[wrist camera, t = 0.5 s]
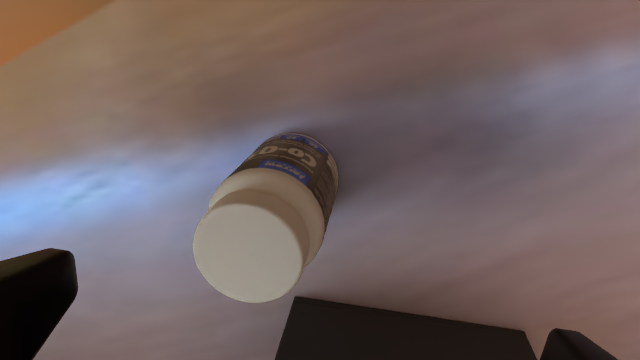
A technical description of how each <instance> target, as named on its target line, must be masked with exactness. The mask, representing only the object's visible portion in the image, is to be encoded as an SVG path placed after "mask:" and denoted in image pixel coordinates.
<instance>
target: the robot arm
mask: <svg viewBox="0 0 640 360" xmlns="http://www.w3.org/2000/svg"><path fill="white" fill-rule="evenodd" d="M77 291H78V282H77V274H76V266H75V259H74V256H73V254H72V253H71V252H70V251H66V250H60V249H54V248H48V249H44V250H40V251H37V252H33V253H29V254H26V255H22V256H18V257H14V258H11V259H7V260H3V261H0V360H33V358H34V357H35V355H36V354H37V353H38V351H39V350H40V348H41V347H42V345H43V344H44V343H45V341H46V340H47V338H48V337H49V335H50V334H51V333H52V331H53V330H54V328H55V327H56V325H57V324H58V323H59V321H60V320H61V318H62V317H63V315H64V314H65V313H66V311H67V310H68V308H69V307H70V305H71V304H72V303H73V301H74V299H75V297H76V295H77ZM540 360H618V359H616V358H615V357H614V356H612V355H611V354H609V353H608V352H607V351H605V350H604V349H602V348H601V347H600V346H598V345H597V344H595V343H594V342H592V341H591V340H590V339H588V338H587V337H585V336H584V335H583V334H581V333H579V332H577V331H572V330H565V329H558V328H555V329H553V330H551V332H550V333H549V335H548V338H547V341H546V344H545V346H544V349H543V352H542V355H541V358H540Z"/></svg>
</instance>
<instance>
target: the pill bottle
mask: <svg viewBox="0 0 640 360" xmlns="http://www.w3.org/2000/svg"><path fill="white" fill-rule="evenodd" d="M337 188H338V170H337V166H336V163H335V161H334V159H333V157H332V155H331V154H330V153H329V151H328V150H327V149H326V148H325V147H324V146H323V145H322V144H321V143H320V142H318V141H317V140H315V139H313V138H311V137H309V136H306V135H302V134H295V133H286V134H280V135H276V136H274V137H271V138H270V139H268V140H266V141H265V142H264V143H262V144H261V145H260V146H259V147H258V148H257V149H256V150H255V151H254V152H253V153H252V154H251V155H250V156H249V157H248V158H247V159H246V160H245V161H244V162H243V163H242V164H241V165H240V166H239V167H238V168H237V169H236V170H235V171H234V172H233V173H232V174H231V175H230V176H228V177H227V178H226V179H225V180H224V181H223V182H222V184H221V185H220V186H219V187H218V188H217V190H216V191H215V193H214V195H213V197H212V199H211V201H210V204H209V208H208V212H207V213H206V215H205V216H204V217H203V218H202V219H201V221H200V223H199V224H198V226H197V228H196V231H195V234H194V238H193V254H194V258H195V262H196V264H197V266H198V268H199V270H200V272H201V273H202V275H203V276H204V278H205V279H206V280H207V281H208V282H209V283H210V284H211V285H212V286H213V287H214V288H215V289H216V290H218V291H219V292H221V293H222V294H224V295H226V296H228V297H230V298H233V299H235V300H239V301H243V302H249V303H263V302H269V301H273V300H275V299H278V298H280V297H282V296H284V295H285V294H286V293H288V292H289V291H290V290H291V289H292V288H293V287H294V286H295V285H296V283H297V282H298V280H299V278H300V276H301V274H302V272H303V269H304V267H305V266H306V265H308V264H309V263H310V262H311V261H312V259H313V258H314V257H315V255H316V254H317V252H318V251H319V249H320V247H321V244H322V242H323V239H324V234H325V232H326V227H327V224H328V220H329V217H330V214H331V210H332V207H333V203H334V200H335V196H336V193H337Z"/></svg>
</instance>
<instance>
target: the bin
mask: <svg viewBox="0 0 640 360" xmlns="http://www.w3.org/2000/svg"><path fill="white" fill-rule="evenodd" d="M275 360H537V358H536V356H535V354H534V352H533V350H532V348H531V345H530V343H529V341H528V339H527V337H526V335H525V332H523V331H516V330H510V329H503V328H497V327H490V326H484V325H477V324H471V323H464V322H458V321H451V320H445V319H438V318H432V317H425V316H418V315H412V314H405V313H399V312H392V311H386V310H379V309H373V308H366V307H360V306H353V305H347V304H340V303H334V302H327V301H321V300H314V299H308V298H301V297H295V298H294V301H293V304H292V307H291V310H290V313H289V316H288V319H287V323H286V326H285V329H284V332H283V335H282V338H281V341H280V344H279V348H278V351H277V354H276V357H275Z"/></svg>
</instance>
